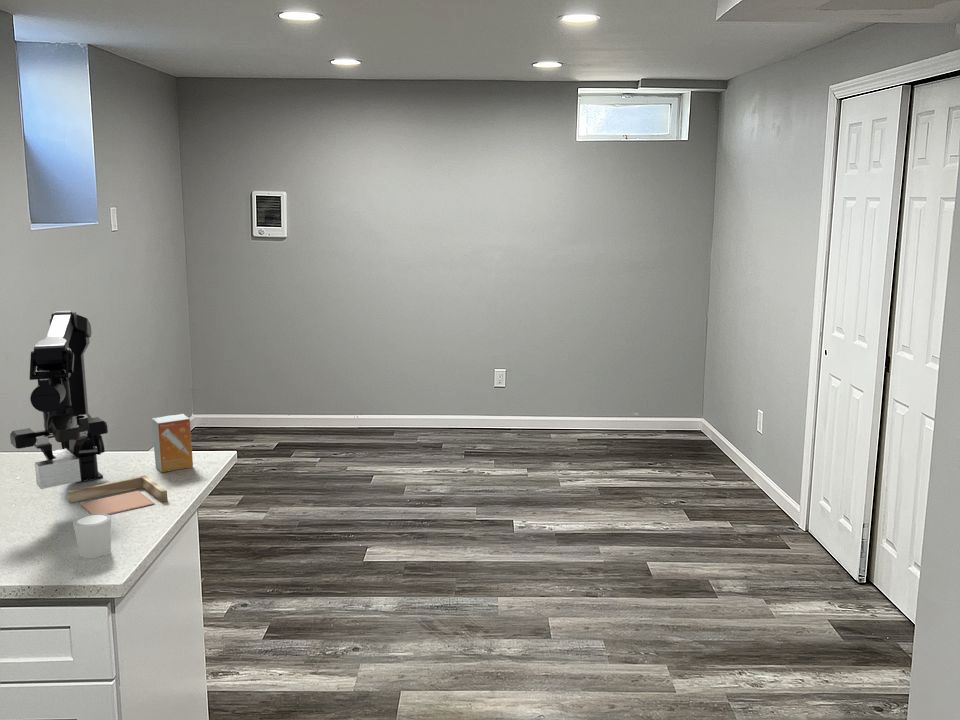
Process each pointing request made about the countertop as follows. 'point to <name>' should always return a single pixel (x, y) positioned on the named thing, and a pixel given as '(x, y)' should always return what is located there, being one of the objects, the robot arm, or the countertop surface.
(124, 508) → the pad
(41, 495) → the countertop surface
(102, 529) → the shot glass
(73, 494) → the tan corner rail
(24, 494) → the countertop surface
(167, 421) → the small box
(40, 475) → the bracket
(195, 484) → the countertop surface
